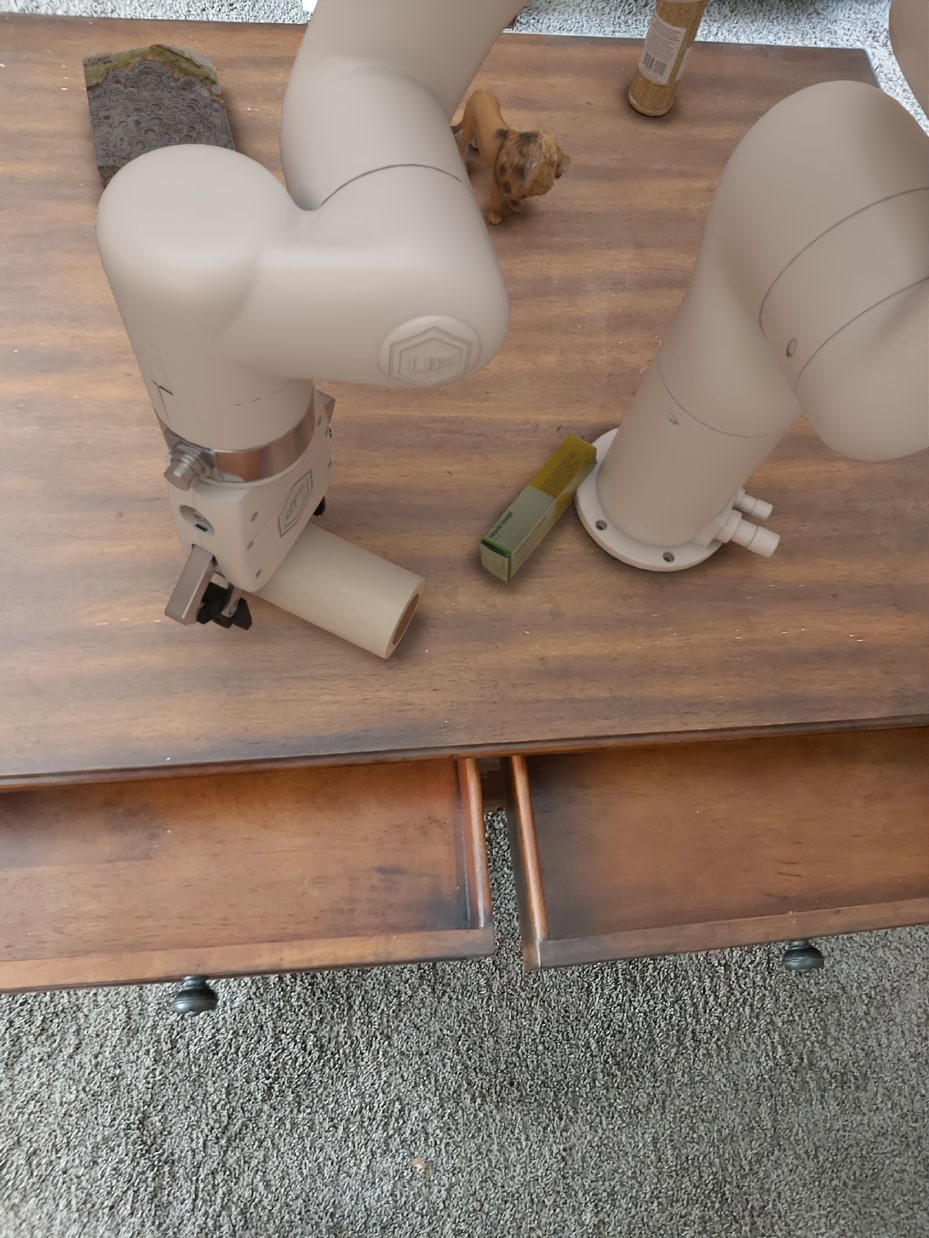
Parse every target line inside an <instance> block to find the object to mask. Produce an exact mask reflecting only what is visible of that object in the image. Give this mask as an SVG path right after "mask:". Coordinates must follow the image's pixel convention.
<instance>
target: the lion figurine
mask: <svg viewBox="0 0 929 1238" xmlns="http://www.w3.org/2000/svg"><path fill="white" fill-rule="evenodd" d="M450 126H451V129H452V132H453V135H455V134H458V133H459V132H460V131H462V132H461V142H460V145H459V147H458V150H459V153H460V155H461V158H462V161H463V164H464V166H465V169H466V172H467V175H468V173H469V167H468V165H467V154H468V149H469V146H470V145H471V147H472V148H474V149H478V152H479V155H480V158H481V160H482V163H483V165H484V166H485V168H486V169H487V171H489V172H490V174H491V178H490V184H491V185H490V202H489V209H488V210H489V211H488V214H487V220H488V222H489V223H490V224H493V225H498V224H500V223H502V221H503V219H502V213H503V212H502V211H503V210H502V205H501V204H502V201H503V197H504V194H505V195H506V196H508V200H507V202H508V203H507V204H508V206H509V208H510V209H511V210H512V211H513V212H515V213H518V212H519V213H520V212H521V211H522V210H523V209H524V208H525V205H524V204H525V203H524V202H523V200H525V199H527V198H533V197H542V196H545V195H547V193H548V192H550V191H551V189H552V188H553V187H554V186H555V180H556V181H558V180H561V177H562V175H565V174H566V173H567V172H568V169H569V167H570V165H571V163H572V158H571V156H569V155H566V154H565V153H564V152H562V150H561V148H560V146H559V145H557V144H558V138H557V136H556V135H554V134H553V133H552V131H551V130H549V129H545V130H543V131H542V130H539V129H538V130H536V129H533V130H532V131H529V130H527V131H520V130H519V131H518V130H517V131H516V130H515V129H511V127H510V126H509V125H508V123H506V121H505V119H504V117H503V115H502V113H501V104H500V101H499V98H498V97H497V96H496V95H495V94H494V93H492V92H491V91H488V90H485V89H483V88H478V89H476V90H474V91H473V93H472V94H471V95H470V97H469V98H468V100H467V101H466V104H465V107H464V110H463V115H462V119H461V121H459V123H458V124H456V125H450Z"/></svg>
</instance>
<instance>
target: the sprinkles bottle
mask: <svg viewBox="0 0 929 1238" xmlns="http://www.w3.org/2000/svg"><path fill="white" fill-rule="evenodd" d="M708 3H709V0H701V1H698V2H694V3H680V2H668V1H663V0H657V2H656V4H655V6H654V9H653V11H652V12H653V13H652V16H651V18H650V22H649V25H648V29H647V32H646V36H645V39H644V41H643V42H644V43H643V45H642V48H641V52H640V55H639V58H638V62H637V67H636V71H635V74H634V77H633V80H632V83H631V86H630V87H629V89H628V93H627V98H628V101H629V103H630V105H631V107H633V108H634V109H635V110H636V111H637V112H639V113H640V114H644V115H646V116H650V117H656V116H657V117H658V116H662V115H665V114H667V113H668V112H669V111H670V110H671V109H672V108H673V105H674V98H675V96H676V93H677V89H678V87H679V84H680V82H681V78H682V77H683V74H684V72H685V69H686V66H687V64H688V61H689V57H690V55H691V52H692V49H693V48H694V47H693V46H694V42H695V40H696V37H697V34H698V30H699V28H700V25H701V21H702V19H703V16H704V14H705V10H706V8H707V5H708Z"/></svg>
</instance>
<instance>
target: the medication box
mask: <svg viewBox="0 0 929 1238" xmlns="http://www.w3.org/2000/svg"><path fill="white" fill-rule="evenodd" d="M591 444H592V443H589V442H588V441H587V440H584V439H583V438H580V437H579V436H576V435H574V434H571V433H569V434H568V435H567V436H566V437H565V438H564V439H563V441H562V443H561V444H560V445H559V446H558V447H557V448H556V449H555V450H554V452H553V453H552V454H551V456H549V458H548V459H547V460H546V462H545V463H544V464H543V465H542V466H541V467H540V469H539V470H538V471H537V473H535V475H534V476H533V477H532V478H531V480H530V481H529V482H528V483H527V485H525V487H524V488H523V489H522V491H520V493H519V494H518V496H517V497H516V498H515V499H514V501H512V503H511V504H510V505H509V506H508V508H506V510H505V511H504V512H503V513H502V515H501V516H500V517H499V519H498V520H497V521H496V522H495V523H494V524H493V526H491V528H490V529H489V530H488V531H487V532H486V534H485V535H484V536H483V538H482V539H481V540H480V542H479V562H480V564H481V566H482V567H484V568H485V569H486V570H487V571H488V572H489V573H491V575H493V576H495V577H497V578H498V579H500V580H502V581H504V582H507V583H508V582H509V581H510V580H511V579H512V578H513V576H514V575H515V574H516V572H517V571H518V570H519V569H520V567H522V565H523V564H524V563H525V562H526V560H527V559H528V558H529V556H530V555H531V554H532V553H533V552H534V550H535V549H536V548H537V547H538V545H540V543H541V542H542V540H543V539H544V538H545V537H546V535H547V534H548V533H549V531H550V530H551V529H552V528H553V527H554V526H555V525H556V523H557V522H558V520H559V519H560V518H561V516H562V515H564V513H565V512H566V510H567V509H569V507H570V505H571V504H572V503H573V502H574V496H575V493H576V490H577V489H578V487H579V486H580V485H581V483H582V482H583V481H584V480H585V479H586V477H587V476H588V475H589V474H590V473H591V471H592V470H593V469H594V468H595V462H596V454H597V448H596V447H595V446H593V445H591Z"/></svg>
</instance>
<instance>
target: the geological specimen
mask: <svg viewBox="0 0 929 1238" xmlns="http://www.w3.org/2000/svg"><path fill="white" fill-rule="evenodd" d="M81 60H82V61H81V62H82V68H83V76H84V83H85V92H86V97H87V105H88V112H89V113H88V114H89V120H90V127H91V135H92V142H93V151H94V156H95V157H94V158H95V164H96V165H95V166H96V169H97V172H98V175H99V178H100V181H101V185H102V187H103V189H104V190H105V189H106V187H107V185H108V184H109V182H110V181H111V179H112V178H113V176H114V175H115V174H116V173H117V172H118V171H119V170H120V169H121V168H122V167H124V166H125V165H126V164H128V163H129V162H131V161H133V160H134V159H136V158H138V157H139V156H141V155H143V154H145V153H148V152H150V151H153V150H156V149H160V148H164V147H168V146H174V145H183V144H204V145H211V146H218V147H222V148H226V149H230V150H233V151H236V147H235V143H234V140H233V139H234V138H233V135H232V131H231V127H230V123H229V119H228V116H227V111H226V108H225V101H224V99H223V95H222V91H221V87H220V84H219V79H218V74H217V70H216V66H215V64H214V62H213V61H211V60H210V59H208V58H207V57H206V56H205V55H203V54H201V53H198V52H196V51H194V50H192V49H188V48H185V47H180V46H177V45H175V44H172V45H167V44H161V43H154V44H152V45H150V46H144V47H141V46H140V47H137V48H132V49H130V50H127V51H119V52H111V51H109V52H104V53H96V54H94V55H90V56H84V57H83V58H81Z"/></svg>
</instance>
